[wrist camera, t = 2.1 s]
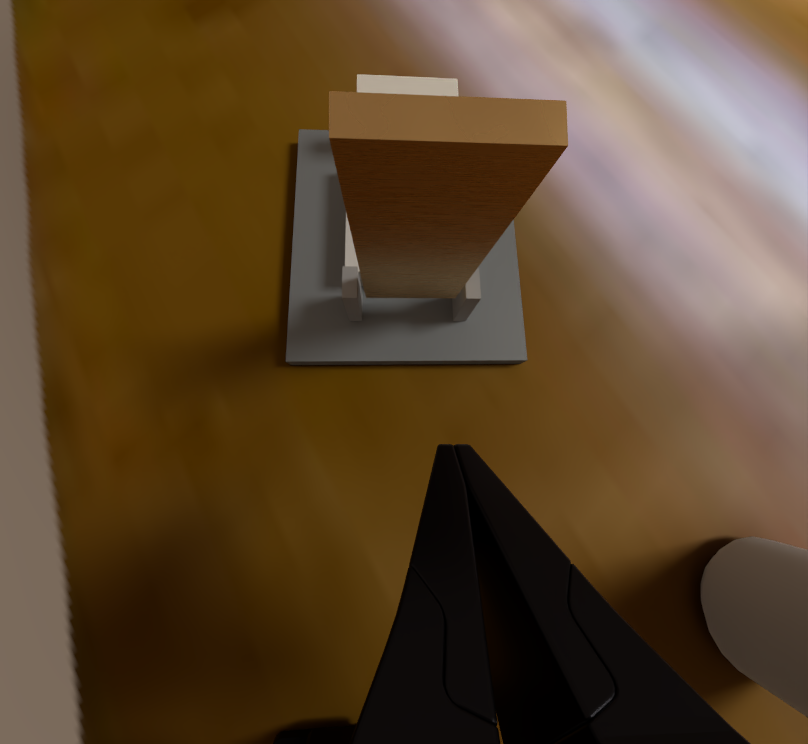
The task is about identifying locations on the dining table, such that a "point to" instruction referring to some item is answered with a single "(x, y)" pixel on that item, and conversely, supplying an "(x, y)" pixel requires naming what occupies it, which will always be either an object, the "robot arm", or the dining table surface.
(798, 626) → the can
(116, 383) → the dining table surface
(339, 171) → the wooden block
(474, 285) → the grey holder base
